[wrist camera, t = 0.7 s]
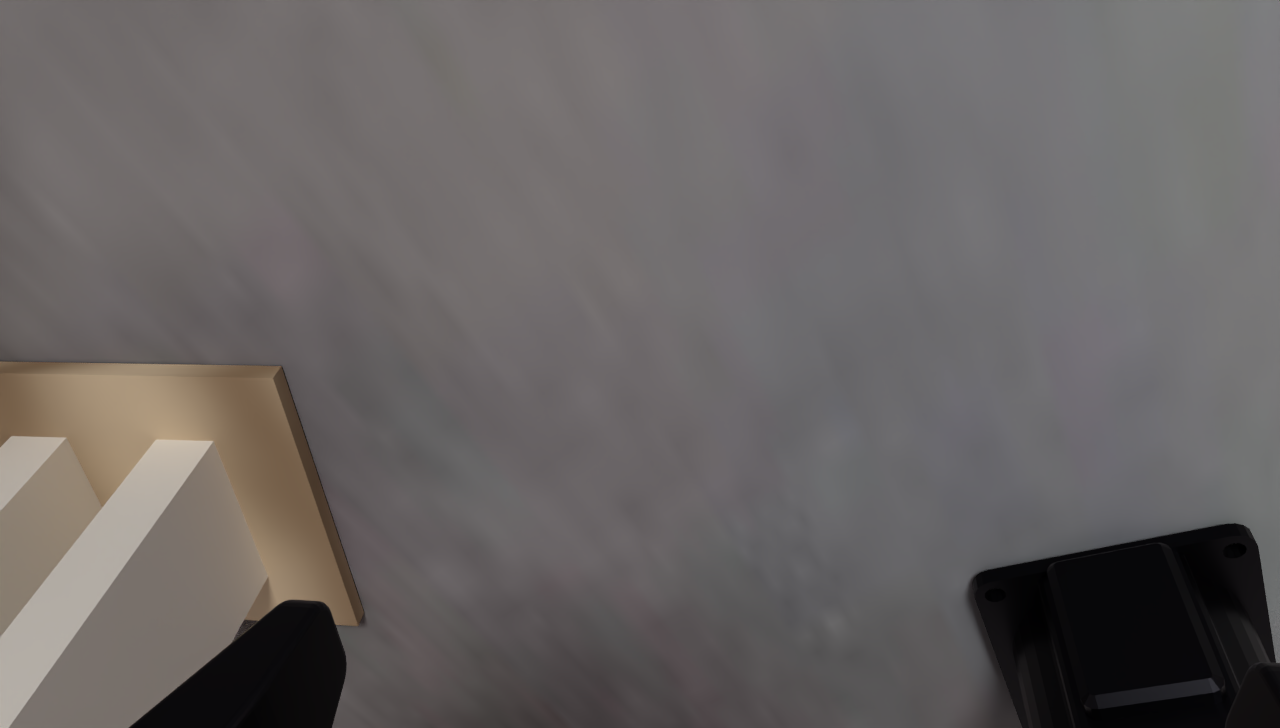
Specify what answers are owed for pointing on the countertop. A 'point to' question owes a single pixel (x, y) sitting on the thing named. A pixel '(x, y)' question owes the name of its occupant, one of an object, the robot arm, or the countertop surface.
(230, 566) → the domino
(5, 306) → the countertop surface
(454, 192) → the countertop surface
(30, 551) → the domino
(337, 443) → the countertop surface
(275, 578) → the oak strip
